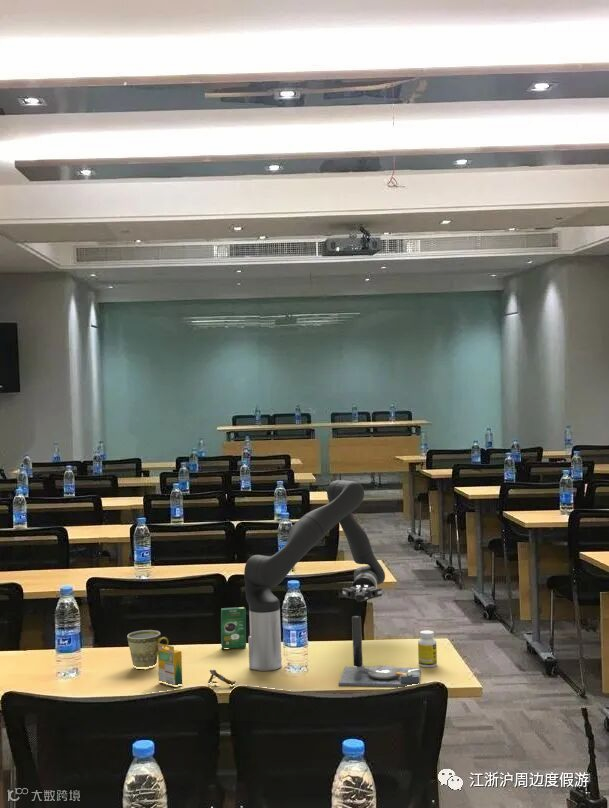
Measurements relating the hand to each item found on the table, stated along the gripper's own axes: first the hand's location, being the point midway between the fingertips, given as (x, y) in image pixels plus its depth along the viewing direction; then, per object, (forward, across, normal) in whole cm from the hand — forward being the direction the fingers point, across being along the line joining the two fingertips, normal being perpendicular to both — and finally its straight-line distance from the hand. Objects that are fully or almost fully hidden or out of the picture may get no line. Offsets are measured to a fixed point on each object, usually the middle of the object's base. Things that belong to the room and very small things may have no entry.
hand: (359, 598), depth 259 cm
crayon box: (+25, -52, +19) cm, 61 cm away
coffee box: (-13, -43, +19) cm, 49 cm away
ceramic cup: (+9, -64, +19) cm, 68 cm away
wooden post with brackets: (+26, -37, +19) cm, 49 cm away
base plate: (+16, +7, +19) cm, 26 cm away
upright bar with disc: (+15, +7, +18) cm, 25 cm away
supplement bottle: (+3, +20, +20) cm, 28 cm away
